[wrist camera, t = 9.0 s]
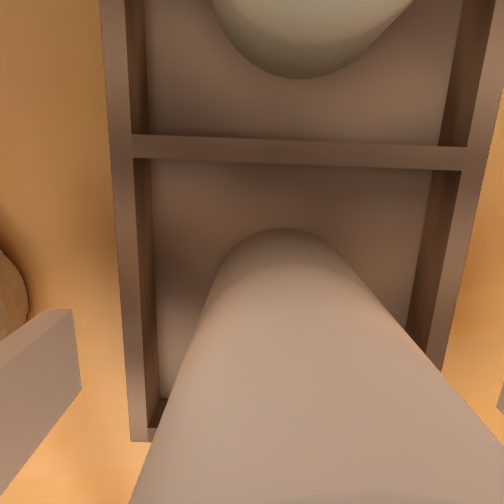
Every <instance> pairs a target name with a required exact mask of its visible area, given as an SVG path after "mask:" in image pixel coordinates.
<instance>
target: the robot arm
mask: <svg viewBox="0 0 504 504" xmlns="http://www.w3.org/2000/svg"><path fill="white" fill-rule="evenodd" d="M81 389H82V387H81V379H80V371H79V363H78V354H77V346H76V338H75V329H74V321H73V313H72V310H67V309H45V310H44V311H42V312H41V313H39V314H38V315H37V316H35V317H34V318H32V319H31V320H30V321H28V322H27V323H25V324H24V325H23V326H21V327H20V328H18V329H17V330H16V331H14V332H13V333H11V334H10V335H9V336H7V337H6V338H4V339H3V340H2V341H0V496H1V495H2V493H3V492H4V491H5V489H6V488H7V487H8V486H9V484H10V483H11V482H12V480H13V479H14V478H15V476H16V475H17V474H18V472H19V471H20V470H21V468H22V467H23V466H24V464H25V463H26V462H27V461H28V459H29V458H30V457H31V455H32V454H33V453H34V451H35V450H36V449H37V447H38V446H39V445H40V443H41V442H42V441H43V439H44V438H45V437H46V436H47V434H48V433H49V432H50V430H51V429H52V428H53V426H54V425H55V424H56V422H57V421H58V420H59V418H60V417H61V416H62V414H63V413H64V412H65V411H66V409H67V408H68V407H69V405H70V404H71V403H72V401H73V400H74V399H75V397H76V396H77V395H78V393H79V392H80V391H81ZM497 408H498V409H499V410H500V411H501V412H502V413H503V414H504V383H503V386H502V390H501V393H500V396H499V400H498V403H497Z"/></svg>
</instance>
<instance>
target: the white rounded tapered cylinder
mask: <svg viewBox="0 0 504 504" xmlns="http://www.w3.org/2000/svg"><path fill="white" fill-rule="evenodd" d="M128 504H504V446H503V445H502V444H501V443H500V441H499V440H498V439H497V438H496V437H495V436H494V434H493V433H492V432H491V431H490V430H489V429H488V427H487V426H486V425H485V424H484V423H483V422H482V420H481V419H480V418H479V417H478V416H477V415H476V413H475V412H474V411H473V410H472V409H471V408H470V406H469V405H468V404H467V403H466V402H465V400H464V399H463V398H462V397H461V396H460V395H459V393H458V392H457V391H456V390H455V389H454V388H453V386H452V385H451V384H450V383H449V382H448V381H447V379H446V378H445V377H444V376H443V375H442V374H441V372H440V371H439V370H438V369H437V368H436V367H435V365H434V364H433V363H432V362H431V361H430V360H429V358H428V357H427V356H426V355H425V354H424V353H423V351H422V350H421V349H420V348H419V347H418V346H417V344H416V343H415V342H414V341H413V340H412V339H411V337H410V336H409V335H408V334H407V333H406V332H405V330H404V329H403V328H402V327H401V326H400V325H399V323H398V322H397V321H396V320H395V319H394V318H393V316H392V315H391V314H390V313H389V312H388V311H387V309H386V308H385V307H384V306H383V305H382V304H381V302H380V301H379V300H378V299H377V298H376V297H375V295H374V294H373V293H372V292H371V291H370V290H369V288H368V287H367V286H366V285H365V284H364V283H363V281H362V280H361V279H360V278H359V277H358V276H357V274H356V273H355V272H354V271H353V270H352V268H351V267H350V266H349V265H348V264H347V263H346V261H345V260H344V259H343V258H342V257H341V256H340V254H339V253H338V252H337V251H336V250H335V249H334V248H333V247H332V246H331V245H330V244H329V243H327V242H326V241H325V240H323V239H322V238H320V237H318V236H316V235H314V234H312V233H309V232H306V231H303V230H299V229H293V228H275V229H268V230H264V231H261V232H258V233H255V234H253V235H251V236H249V237H247V238H246V239H244V240H242V241H241V242H240V243H238V244H237V245H236V246H235V247H234V248H233V249H232V250H231V251H230V252H229V253H228V254H227V255H226V257H225V258H224V259H223V261H222V263H221V265H220V267H219V269H218V271H217V274H216V277H215V279H214V282H213V284H212V287H211V290H210V292H209V295H208V297H207V300H206V303H205V305H204V308H203V310H202V313H201V316H200V318H199V321H198V323H197V326H196V329H195V331H194V334H193V337H192V339H191V342H190V344H189V347H188V350H187V352H186V355H185V357H184V360H183V363H182V365H181V368H180V370H179V373H178V376H177V378H176V381H175V383H174V386H173V389H172V391H171V394H170V396H169V399H168V402H167V404H166V407H165V410H164V412H163V415H162V417H161V420H160V423H159V425H158V428H157V430H156V433H155V436H154V438H153V441H152V443H151V446H150V449H149V451H148V454H147V456H146V459H145V462H144V464H143V467H142V469H141V472H140V475H139V477H138V480H137V483H136V485H135V488H134V490H133V493H132V496H131V498H130V501H129V503H128Z"/></svg>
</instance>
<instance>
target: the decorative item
mask: <svg viewBox="0 0 504 504" xmlns="http://www.w3.org/2000/svg"><path fill="white" fill-rule="evenodd" d="M28 312H29V307H28V297H27V291H26V287H25V283H24V280H23V277H22V276H21V274H20V272H19V271H18V269H17V267H16V266H15V265H14V264H13V263H12V261H11V260H10V259H9V258H8V257H7V256H6V255H5V254H4V253H3V251H2V250H1V249H0V341H2V340H3V339H4V338H6V337H7V336H9V335H10V334H11V333H13V332H14V331H16V330H17V329H18V328H20V327H21V326H23V325H24V323H25V321H26V314H27V313H28Z"/></svg>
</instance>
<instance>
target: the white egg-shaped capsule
mask: <svg viewBox="0 0 504 504" xmlns="http://www.w3.org/2000/svg"><path fill="white" fill-rule="evenodd" d="M412 1H413V0H212V4H213V7H214V11H215V14H216V16H217V19H218V21H219V23H220V26H221V27H222V29H223V31H224V33H225V35H226V36H227V38H228V39H229V41H230V42H231V43H232V45H233V46H234V47H235V49H236V50H237V51H238V52H239V53H240V54H241V55H242V56H243V57H244V58H246V59H247V60H248V61H249V62H251V63H252V64H253V65H255V66H256V67H258V68H260V69H261V70H263V71H266V72H268V73H270V74H273V75H276V76H279V77H283V78H290V79H311V78H317V77H322V76H325V75H328V74H331V73H333V72H335V71H337V70H339V69H341V68H343V67H345V66H347V65H348V64H350V63H351V62H353V61H354V60H355V59H356V58H358V57H359V56H360V55H361V54H362V53H363V52H364V51H365V50H366V49H367V48H368V47H369V46H370V45H371V44H372V43H373V42H374V41H375V40H376V39H377V38H378V37H379V36H380V35H381V34H382V33H383V32H384V31H385V30H386V28H387V27H388V26H389V25H390V24H391V23H392V22H393V21H394V20H395V19H396V18H397V17H398V16H399V15H400V14H401V13H402V12H403V11H404V10H405V9H406V8H407V7H408V5H409V4H410V3H411V2H412Z"/></svg>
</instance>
